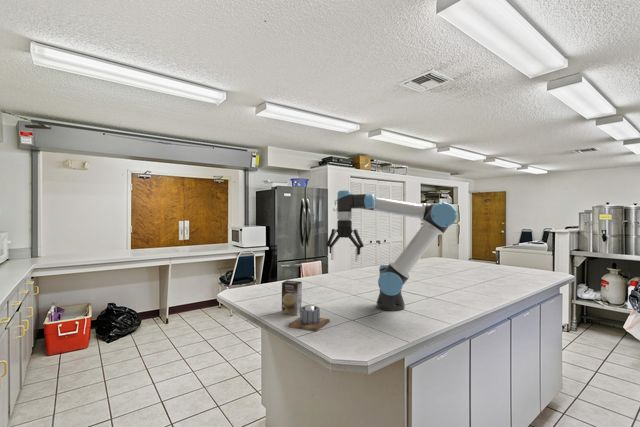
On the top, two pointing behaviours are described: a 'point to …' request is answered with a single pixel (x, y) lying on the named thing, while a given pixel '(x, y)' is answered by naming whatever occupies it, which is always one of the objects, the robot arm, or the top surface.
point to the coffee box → (291, 297)
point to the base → (309, 327)
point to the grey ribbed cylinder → (310, 316)
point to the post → (309, 307)
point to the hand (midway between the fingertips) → (344, 260)
